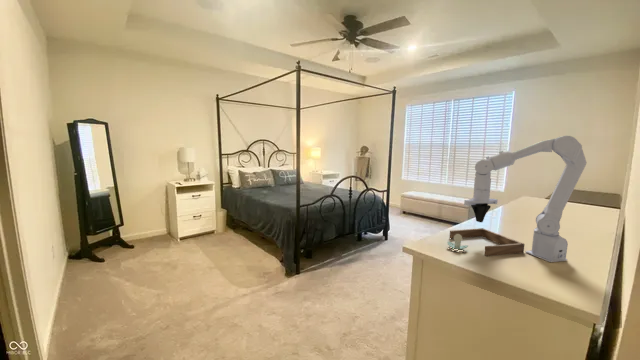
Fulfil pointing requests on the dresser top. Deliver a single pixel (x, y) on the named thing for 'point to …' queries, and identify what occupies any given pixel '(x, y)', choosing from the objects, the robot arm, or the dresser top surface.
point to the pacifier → (457, 243)
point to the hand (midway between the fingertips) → (479, 221)
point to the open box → (506, 243)
